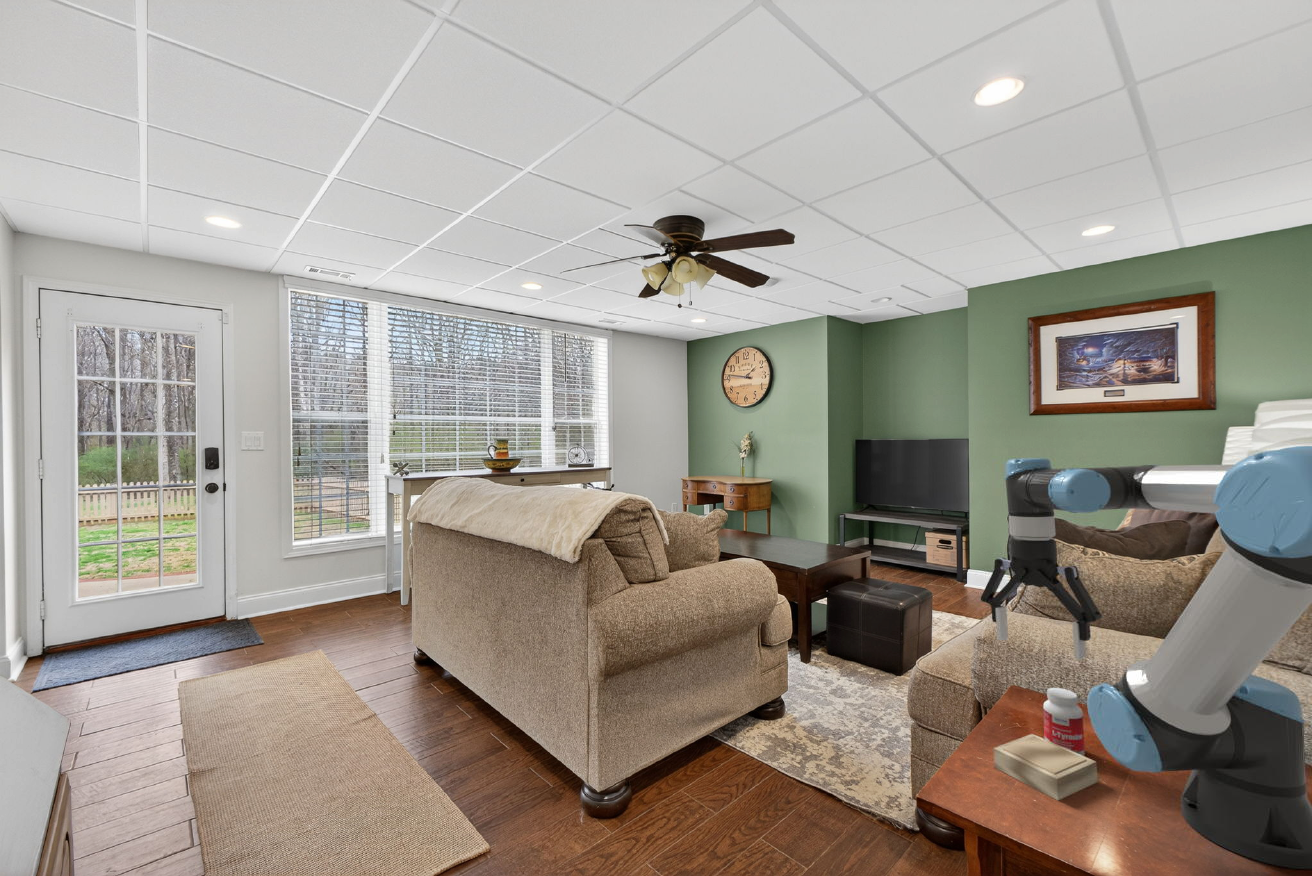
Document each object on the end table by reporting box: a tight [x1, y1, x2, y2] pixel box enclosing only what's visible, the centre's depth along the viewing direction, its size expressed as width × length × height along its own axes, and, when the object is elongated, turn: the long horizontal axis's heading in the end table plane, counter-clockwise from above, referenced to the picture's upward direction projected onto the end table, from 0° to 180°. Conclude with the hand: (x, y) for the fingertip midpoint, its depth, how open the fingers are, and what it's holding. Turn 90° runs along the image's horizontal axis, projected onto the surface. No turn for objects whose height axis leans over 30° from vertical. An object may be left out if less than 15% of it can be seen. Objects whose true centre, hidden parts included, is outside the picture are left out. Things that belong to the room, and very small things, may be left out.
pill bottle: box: [1042, 687, 1085, 757], centre depth 109 cm, size 6×6×11 cm
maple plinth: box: [993, 733, 1098, 801], centre depth 101 cm, size 11×11×4 cm
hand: (1039, 648), depth 110 cm, fingers open, 13 cm apart
